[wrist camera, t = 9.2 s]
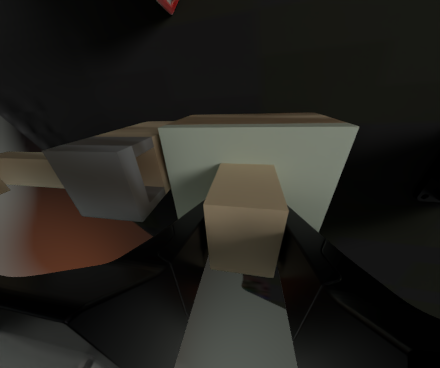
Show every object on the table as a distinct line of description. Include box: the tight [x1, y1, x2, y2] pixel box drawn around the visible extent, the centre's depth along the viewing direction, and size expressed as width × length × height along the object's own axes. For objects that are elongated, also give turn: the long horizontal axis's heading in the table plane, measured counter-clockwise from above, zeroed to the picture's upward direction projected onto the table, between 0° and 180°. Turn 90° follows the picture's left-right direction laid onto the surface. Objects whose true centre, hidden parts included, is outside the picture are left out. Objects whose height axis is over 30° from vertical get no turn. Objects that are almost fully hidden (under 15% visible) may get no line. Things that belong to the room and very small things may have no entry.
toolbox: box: [42, 112, 346, 222], centre depth 12 cm, size 8×14×9 cm, turn 92°
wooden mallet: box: [0, 152, 64, 194], centre depth 9 cm, size 3×10×5 cm, turn 92°
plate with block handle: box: [158, 123, 359, 278], centre depth 9 cm, size 8×10×5 cm
